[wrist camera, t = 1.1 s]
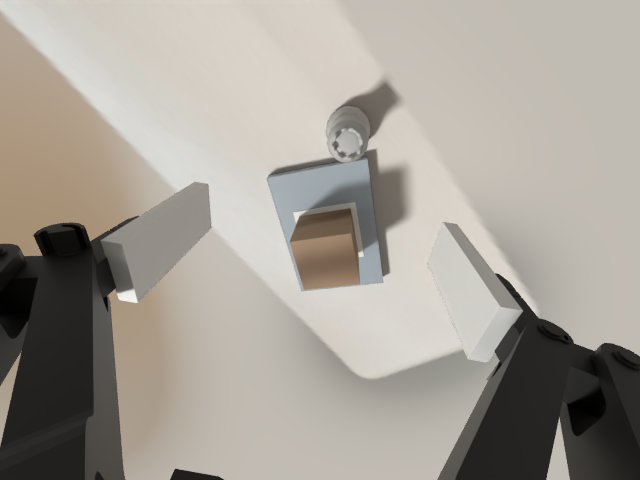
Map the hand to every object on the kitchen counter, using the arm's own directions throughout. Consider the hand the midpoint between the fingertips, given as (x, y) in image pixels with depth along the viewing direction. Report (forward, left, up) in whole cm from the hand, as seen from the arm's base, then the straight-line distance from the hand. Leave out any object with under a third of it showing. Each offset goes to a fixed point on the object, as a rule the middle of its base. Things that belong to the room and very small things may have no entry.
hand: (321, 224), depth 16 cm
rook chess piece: (-3, +2, -16) cm, 17 cm away
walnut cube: (+8, -2, -15) cm, 17 cm away
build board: (+8, -2, -16) cm, 18 cm away
